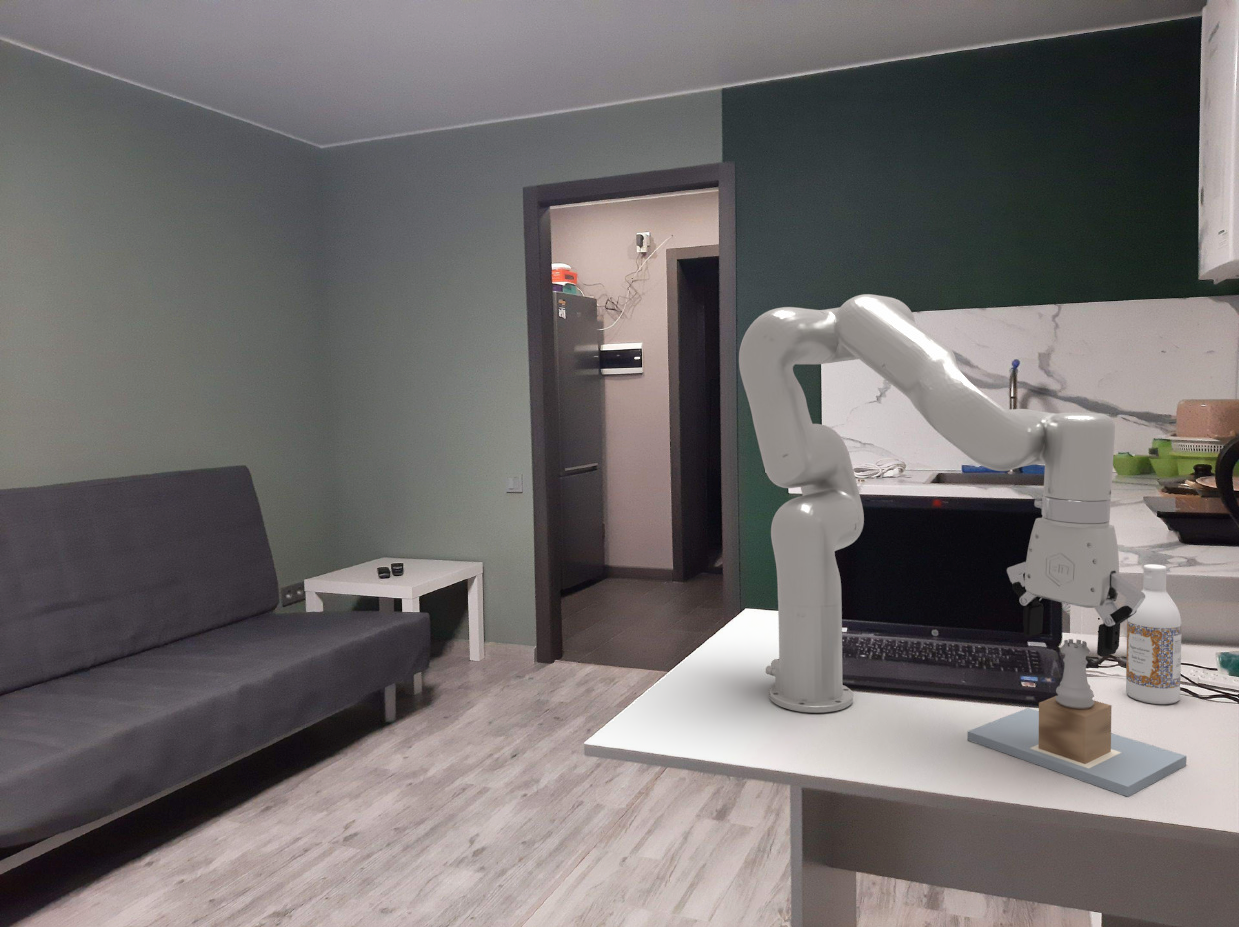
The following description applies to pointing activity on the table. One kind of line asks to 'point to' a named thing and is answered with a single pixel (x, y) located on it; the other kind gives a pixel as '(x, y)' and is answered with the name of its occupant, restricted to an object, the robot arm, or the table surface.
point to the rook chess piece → (1075, 677)
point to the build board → (1113, 771)
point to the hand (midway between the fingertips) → (1068, 644)
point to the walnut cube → (1075, 730)
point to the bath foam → (1154, 643)
